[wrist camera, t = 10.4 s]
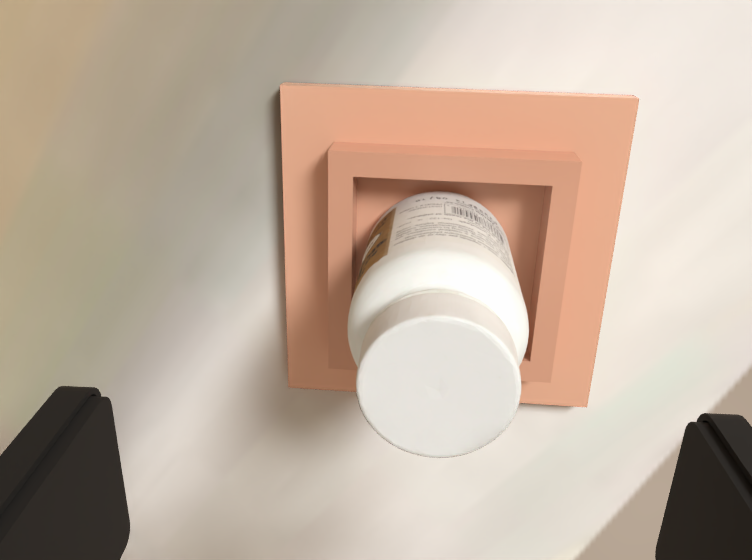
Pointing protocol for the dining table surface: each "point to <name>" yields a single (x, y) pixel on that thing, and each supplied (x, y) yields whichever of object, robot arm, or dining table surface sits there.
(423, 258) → the pill bottle
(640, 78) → the dining table surface
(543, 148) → the rest
